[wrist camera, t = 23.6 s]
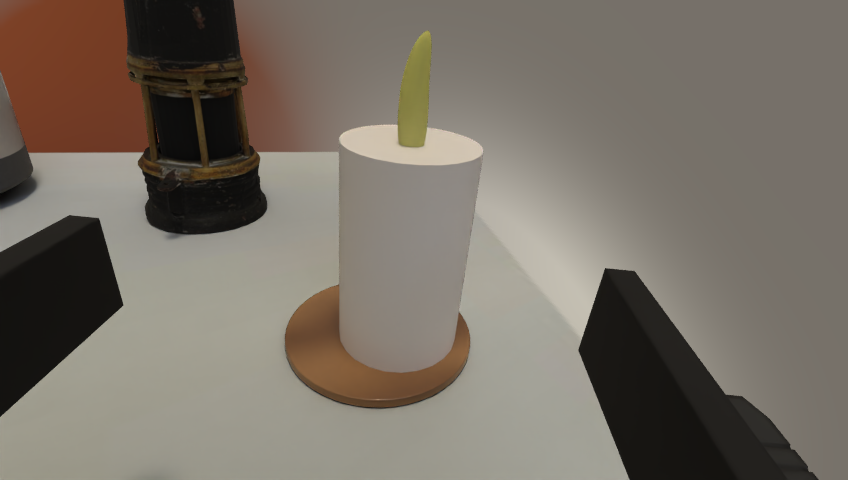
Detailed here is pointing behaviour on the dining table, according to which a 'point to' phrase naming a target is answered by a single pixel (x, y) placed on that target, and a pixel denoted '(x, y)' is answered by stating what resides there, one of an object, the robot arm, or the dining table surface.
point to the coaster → (348, 378)
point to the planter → (11, 146)
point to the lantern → (193, 115)
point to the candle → (404, 230)
